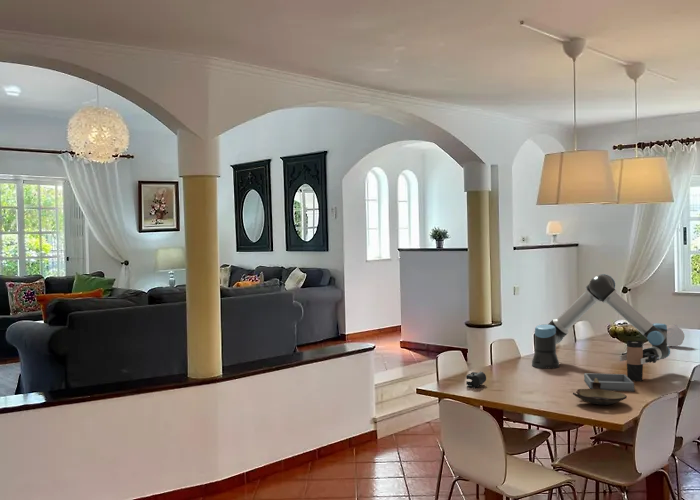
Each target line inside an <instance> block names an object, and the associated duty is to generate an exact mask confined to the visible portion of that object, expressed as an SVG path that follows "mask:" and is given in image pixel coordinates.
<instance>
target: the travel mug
mask: <svg viewBox="0 0 700 500" xmlns="http://www.w3.org/2000/svg"><path fill="white" fill-rule="evenodd" d="M643 343H644V342H643V341H641V340H636V341H632V340H627V341H626V353H627V360H626V376H627V377H628V378H629V379H630V380H631V381H632V382H643V375H644V373H643V370H644V367H643V366H644V364H641V359H642V358H643V350H644V348H643V346H644V345H643Z"/></svg>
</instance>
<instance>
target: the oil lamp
mask: <svg viewBox="0 0 700 500" xmlns="http://www.w3.org/2000/svg"><path fill="white" fill-rule="evenodd" d="M592 386H593V389H590V388H580V389H577V390H576V391H574V392H573V391H572V395H573V396H575V397H576V398H578V399H580V400H582V401H584V402H586V403H589V404H593V405H600V406H601V405H602V406H604V405H606V406H607V405H608V406H609V405H612V404H616V403H619V402H621V401H624V400H625V399H627V395H626V394H624V393H622V392H620V391H618V392H617V391H609V390H602V389H601V388H600V386H601V383H599V381H598V379H597V378H595V379H594V382H593V383H592Z"/></svg>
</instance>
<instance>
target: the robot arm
mask: <svg viewBox="0 0 700 500" xmlns="http://www.w3.org/2000/svg"><path fill="white" fill-rule="evenodd" d="M615 288H616V282H615V279H614V278H613V277H612V276H611V275H608V274H605V273H602V274H598V275H595V276H593V277H592V278H591V279H590V281H589V284H587V285H586V287H585V291H584V292H583V293H582V294H581V295H580V296H579V297H578V298H577V299H576V300H575V301H574V302H572V304H571V305H570V306H568V308H567V309H566V310H565V311H564V312H562V314H561V315H560V316H559V317H557V318H553V319H551V321H549V323H547V324H539V325H536V326H535V327H534V354H533V358H532V361H531V366H532V367H534V368H538V369H556V368H560V362H559V359H558V356H557V344H558V343H561V342H562V341H563V339H564V338H565V337H566V336H567V335H568V334H569V329H570V328H571V327H573V325H574V324H575V323H576V322H578V321H579V320H580V319H581V318H582V317H583V315H585V314H586V313H587V312H588V311H589V310H590V309H591V308H592V307H594V305H595V304H596V303H598V302H602V303H603V304H604V303H606V304H607V305H608V306H609V307H611V309H613V310H614V311H616V313H617V314H618V315H619V316H621V317H622V318H623V319H624V320H625V321H626V322H628V323H629V324H630V325H631V326H632V327H633V328H634V329H636V330H637V331H638V332H639V333H640V334H641V335H642V336H644V338H646V339H647V342H648V343H649V344H650V345H651V346H650V347H649V346H648V347H647V348H643V358H642V359H641V364H643V365H644V364H645V365H646V364H648V363H653V364H656V362H658V361H660V360H664V359H666V358H668V357H669V356H670V354H671V348H670V346H668V345H667V326H668V325H667V324H666V323H661V322H660V323H659V322H658V323H657V322H656V323H652V322H650V321H649V320H648V319H647V318H646V317H645V316H643V314H641V312H639V311H638V310H637V309H635V308H634V307H633V306H632V305H631V304H630V303H629V302H627V300H625V299H624V298H623V297H622V296H620V294H618V292H617V289H615ZM619 361H620V362H624V361H627V352H625V353H624V352H622V353H621V355H619Z"/></svg>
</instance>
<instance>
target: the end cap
mask: <svg viewBox="0 0 700 500" xmlns="http://www.w3.org/2000/svg"><path fill="white" fill-rule="evenodd" d="M465 379H466V380H468V381H466V382H465V383H466V388H469V389H477V388H478V387H479V386H481V385H483V384H484V383H485V382H486V381H487V375H486V374H485V373H484V372H483V371H479V372H476V371H473V372H471V373H468V374H466V376H465ZM469 380H471V381H469Z"/></svg>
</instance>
